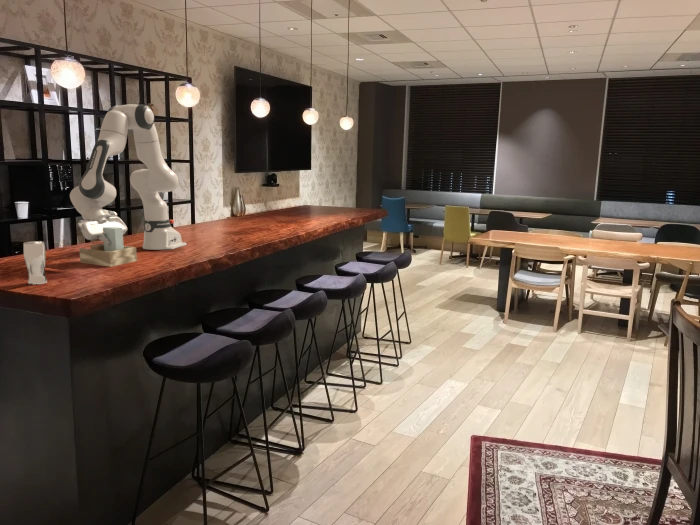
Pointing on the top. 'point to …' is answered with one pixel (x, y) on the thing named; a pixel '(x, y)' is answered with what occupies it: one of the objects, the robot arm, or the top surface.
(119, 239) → the pale green block
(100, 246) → the offcut short
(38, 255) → the beer glass
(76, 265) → the top surface
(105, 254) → the tray
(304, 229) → the top surface
